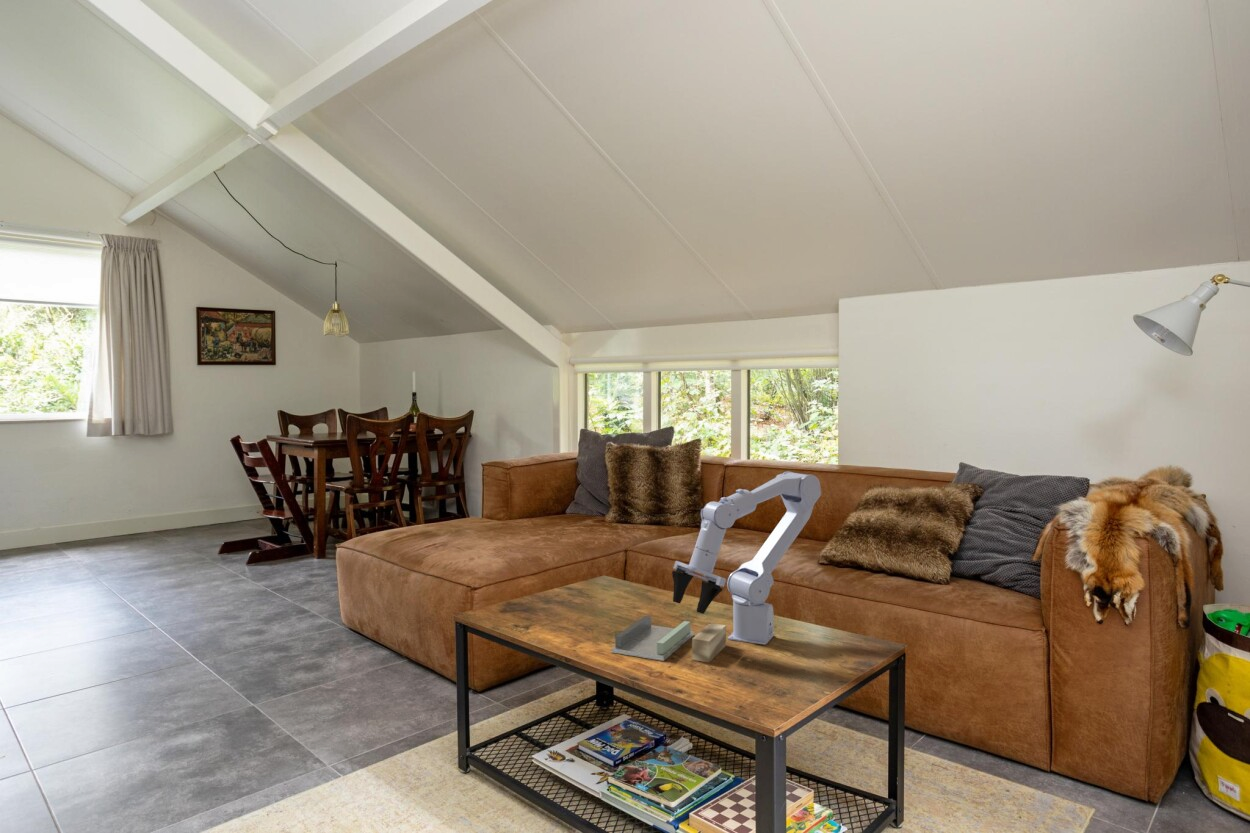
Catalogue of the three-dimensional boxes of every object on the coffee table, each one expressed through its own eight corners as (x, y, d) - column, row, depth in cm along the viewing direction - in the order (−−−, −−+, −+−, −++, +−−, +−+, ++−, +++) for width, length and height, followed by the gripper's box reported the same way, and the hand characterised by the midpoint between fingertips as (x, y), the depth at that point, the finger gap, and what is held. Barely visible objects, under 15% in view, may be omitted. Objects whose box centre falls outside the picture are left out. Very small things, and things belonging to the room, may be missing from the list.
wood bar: (726, 646, 177) (725, 625, 176) (709, 663, 166) (709, 641, 166) (709, 643, 178) (709, 623, 178) (692, 660, 168) (692, 638, 167)
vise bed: (693, 635, 184) (693, 620, 184) (663, 661, 167) (663, 645, 167) (645, 628, 190) (645, 614, 189) (611, 652, 173) (611, 637, 172)
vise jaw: (690, 631, 183) (690, 621, 183) (663, 654, 168) (663, 643, 168) (684, 630, 184) (684, 620, 184) (656, 653, 169) (656, 642, 168)
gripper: (673, 540, 179) (655, 595, 177) (719, 556, 168) (700, 614, 166) (691, 546, 183) (674, 600, 181) (737, 562, 173) (719, 619, 171)
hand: (688, 607), depth 174 cm, fingers open, 7 cm apart
